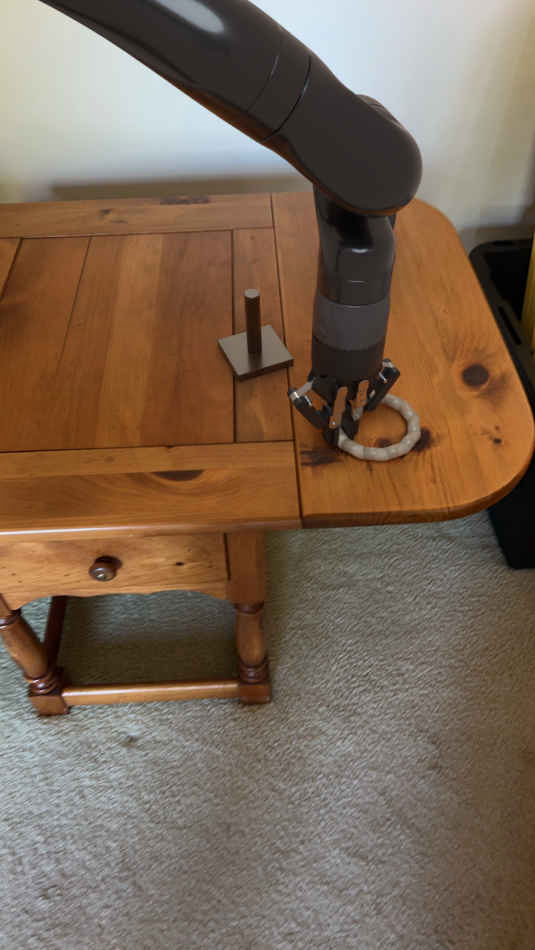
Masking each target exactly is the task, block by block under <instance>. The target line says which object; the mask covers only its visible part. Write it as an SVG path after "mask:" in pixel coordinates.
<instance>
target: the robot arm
mask: <svg viewBox="0 0 535 950" xmlns="http://www.w3.org/2000/svg"><path fill="white" fill-rule="evenodd" d="M37 1H38V2H39V3H42V4H44V5H46V6H48V7H50V8H52V9H53V10H56V11H57V12H59V13H61V14H62V15H64V16H66V17H68V18H69V19H71V20H73V21H75V22H76V23H78V24H80V25H82V26H83V27H85V28H87V29H88V30H90V31H91V32H93V33H95V34H96V35H98V36H99V37H102V38H103V39H104V40H106V41H108V42H109V43H111V44H112V45H114V46H115V47H117V48H119V50H122V51H123V52H124V53H126V54H127V55H129V57H132V58H133V59H134V60H136V61H137V62H139V63H140V64H142V65H143V66H145V68H147V69H148V70H150V71H152V72H153V73H155V74H156V75H158V76H159V77H160V78H162V79H163V80H165V81H166V82H167V83H169V85H171V86H173V87H174V88H175V89H177V90H179V91H180V92H182V93H183V94H184V95H185V96H187V97H189V98H190V99H191V100H193V101H194V102H196V103H197V104H198V105H200V106H201V107H203V108H204V109H205V110H207V111H208V112H209V113H212V114H213V115H214V116H216V117H217V118H219V120H222V121H223V122H224V123H226V124H228V125H230V126H231V127H232V128H234V129H235V130H237V131H239V132H240V133H242V134H243V135H245V136H247V137H248V138H249V139H250V140H252V141H254V142H255V143H257V144H259V145H261V146H262V147H264V148H266V149H268V150H270V151H272V152H273V153H274V154H275V155H278V156H279V157H280V158H282V159H283V160H284V161H286V162H287V163H288V164H289V165H290V166H292V168H294V169H295V170H296V171H297V172H298V173H299V174H300V175H301V176H303V177H304V178H305V179H306V180H308V181H309V182H310V183H311V185H312V193H313V194H312V195H313V202H314V203H313V204H314V210H315V211H314V212H315V218H316V223H317V232H318V250H317V266H316V267H317V268H316V285H315V290H314V295H313V302H312V320H311V321H312V323H311V343H310V344H311V345H310V361H311V367H310V368H311V369H310V371H309V372H308V373H307V377H306V381H307V382H306V383H304V384H303V385H302V386H301V387H299V388H298V389H297V388H296V387H295V386H293V387H290V388H288V390H287V391H286V395H287V397H288V398H289V401H291V403H292V405H293V407H294V408H295V409H296V411H298V413H300V414H301V416H302V417H304V419H305V420H307V422H309V423H310V424H311V425H312V426H313V427H314V428H315V429H316V430H320V431H321V432H320V433H321V437H322V438H323V440H324V441H325V443H326V444H327V446H330V447H331V448H335V447H339V446H338V442H339V431H340V425H339V419H340V414H342V418H341V428H342V430H343V431H344V433H345V434H346V436H347V437H348V438H349V439H350V440H352V441H354V439H355V436H357V434H358V433H359V429H360V428H359V427H360V421H361V420H360V419H362V417H363V415H364V413H366V412H368V413H373V412H375V411H376V410H377V408H378V407H379V405H381V404H380V402H381V401H382V400H383V398H384V397H385V396H386V394H387V393H389V392H390V390H391V389H392V387H393V386H394V385H395V383H396V382H397V381H398V379H399V378H400V376H401V371H400V370H399V369H398V368H397V366H396V365H395V364H394V363H393V361H392V360H391V359H390V358H389V357H386V358H384V354H385V346H386V341H387V334H388V325H389V321H390V315H391V290H392V281H393V275H394V269H395V268H394V267H395V262H396V258H395V253H396V252H397V239H396V234H395V232H394V230H392V227H391V225H390V222H389V220H388V217H387V216H390V215H393V214H395V213H399V212H400V211H402V210H403V209H404V208H405V207H406V206H408V205H409V204H410V202H411V201H412V200H413V199H414V198H415V196H416V194H417V193H418V191H419V189H420V185H421V181H422V179H423V173H424V172H423V171H424V170H423V169H424V168H423V167H424V166H423V164H424V163H423V158H422V153H421V149H420V147H419V145H418V143H417V141H416V139H415V138H414V136H413V135H412V134H411V132H410V131H409V130H408V129H407V128H406V127H405V126H404V125H403V124H402V123H401V122H400V121H399V119H397V118H396V117H395V116H394V115H393V114H392V113H391V111H389V109H387V107H386V106H385V105H383V104H382V103H381V102H380V101H379V100H378V99H375V98H373V97H371V96H370V95H366V94H361V93H360V94H359V93H355V92H354V91H352V90H351V89H350V88H349V87H347V86H346V85H345V84H344V83H343V82H342V81H341V80H340V79H339V78H338V77H337V76H336V75H335V74H334V72H333V71H332V70H331V68H330V67H329V66H328V65H327V64H326V63H325V62H324V60H322V59H321V58H320V57H319V56H318V54H316V53H315V52H314V51H313V50H312V49H311V48H310V47H308V46H307V45H306V44H305V43H304V42H302V40H300V39H299V38H297V36H295V35H294V34H293V33H292V32H290V31H289V30H288V29H287V28H285V27H284V26H283V25H281V24H280V23H279V22H278V21H277V20H276V19H274V18H273V17H272V16H271V15H269V14H268V13H267V12H266V11H264V10H263V9H262V8H260V7H259V6H257V5H256V4H255V3H253V2H252V1H250V0H37ZM396 254H397V253H396ZM372 391H375V394H374V395H373V397H372V398H371V397H370V394H371V393H372ZM314 393H315V394H317V395H318V396H319V399H320V408H319V409H317V408H316V407H315V406H314V405H313V401H314V397H313V395H314ZM344 407H345V409H344ZM343 409H344V410H343Z"/></svg>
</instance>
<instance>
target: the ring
mask: <svg viewBox="0 0 535 950" xmlns="http://www.w3.org/2000/svg"><path fill="white" fill-rule="evenodd" d="M374 394H375V391H374V390H373V391H372V393H371V394H370V397H371V398H372V397H373V395H374ZM379 405H385V406H387V407H389V408H391V409H393V410H396V411H398V412H399V414H401V416H402V418H403V419H405V421H406V422H407V433H406V435H404V437H403V438H402V439H401V441H400V442H397V443H395V444H392V445H389V446H386V447H374V446H373V447H372V446H364V445H362V444H361V443H359V442H356V441H354V440H353V441H352V440H350V439H349V438H348V437H347V436H346V434H345V433H344V431H343V430H342V428H341V418H342V414H340V419H339V425H340V431H339V442H338V446H337V447H338V448H339V449H340V450H342V451H344V452H346V453H348V454H350V455H351V456H354V457H355V458H357V459H360V460H364V461H376V462H378V461H379V462H387V461H391V460H393V459H395V458H398V457H402V456H404V455H407V454H409V452H410V451H411V450H412V448H414V446H415V445H416V444H417V442H418V441H419V440H420V438H421V433H422V432H421V418H420V416H419V414H418V413H417V412H416V410H415V409H414V407H412V406H411V404H410V403H409V402H408V401H407V400H405V399H403V398H401V397H398V396H396V395H395V394H392V393H390V392H388V393H387V394H386V396H385V397H384V398H383V400H382V401H381V402H380V404H379ZM344 409H345V407H344ZM344 409H343V410H344Z"/></svg>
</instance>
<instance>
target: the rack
mask: <svg viewBox="0 0 535 950" xmlns="http://www.w3.org/2000/svg"><path fill="white" fill-rule="evenodd" d="M243 300H244V316H245V317H244V318H245V331H243V332H239V333H237V334H233V335H229V336H225V337H223V338H218V339H217V340H216V342H217V347H218V349H219V351H220V352H221V354H222V356H223V358H224V359H225V361H226V363H227V365H228V366H229V368H230V370H231V372H232V373H233V375H234V378H235V379H236V380H237V382H238V383H241V382H245V381H248V380H250V379H254V378H257V377H260V376H264V375H267V374H270V373H273V372H277V371H280V370H284V369H286V368H290V367H294V363H295V361H294V358H293V356H292V354H291V352H290V351H289V350H288V348H287V346H285V344H284V342H283V340H281V338H280V336H279V335H278V334H277V332H276V331H275V329H274V327H272V325H271V324H268V325H264V326H262V310H261V292H260V290H259V289H257V288H248V289H245V291H244V292H243Z"/></svg>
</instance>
